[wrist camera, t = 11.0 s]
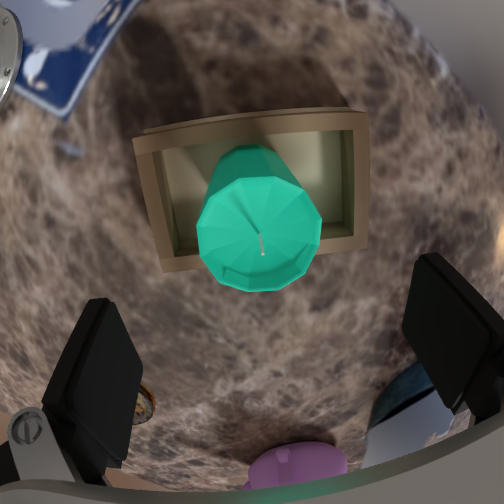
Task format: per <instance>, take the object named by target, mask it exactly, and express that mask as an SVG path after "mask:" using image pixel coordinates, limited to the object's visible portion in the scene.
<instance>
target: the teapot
mask: <svg viewBox="0 0 504 504" xmlns="http://www.w3.org/2000/svg"><path fill="white" fill-rule="evenodd" d="M345 473H347V460H346V456H345V455H344V453H343V452H342V451H340V450H339V449H337V448H336V447H334V446H332V445H330V444H327V443H324V442H314V441H311V442H298V443H292V444H287V445H283V446H279V447H276V448H273V449H271V450H268V451H266V452H265V453H263V454H262V455H260V456H259V457H258V458H257V459H256V460H255V462H254V463H253V464H252V465H251V467H250V468H249V471H248V476H249V481H248V482H247V483H246V484H245V485H244V486H243V487H242V489H241V490H251V489H261V488H269V487H277V486H284V485H291V484H297V483H303V482H308V481H314V480H319V479H323V478H328V477H333V476H337V475H341V474H345Z"/></svg>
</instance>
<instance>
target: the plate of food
mask: <svg viewBox="0 0 504 504" xmlns="http://www.w3.org/2000/svg"><path fill="white" fill-rule="evenodd" d="M150 393H151V392H150V390H149V389H148V388H147V387H146V386H145V385H144V384H142V383H140V388H139V393H138V398H137V403H136V408H135V413H134V419H133V424H132V425H138V424H142V423H144V422H146V421H148V420H149V419H151V418H152V415H153V412H154V409H155V404H156V403H155V402H154V396H153V394H152V393H151V394H152V395H151V394H150Z"/></svg>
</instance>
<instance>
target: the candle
mask: <svg viewBox="0 0 504 504" xmlns="http://www.w3.org/2000/svg"><path fill="white" fill-rule="evenodd" d="M321 224H322V218H321V216H320V214H319V213H318V211H317V209H316V208H315V206H314V204H313V203H312V201H311V199H310V198H309V196H308V195H307V193H306V191H305V190H304V188H303V187H302V186H301V184H300V183H299V182H298V180H297V179H296V178H295V176H294V175H293V174H292V172H291V171H290V170H289V168H288V167H287V166H286V164H285V163H284V162H283V160H282V159H281V158H280V157H279V155H278V154H277V153H276V152H274V151H272V150H270V149H268V148H266V147H264V146H262V145H260V144H250V145H237V146H236V147H234V148H233V149H231V150H230V151H228V152H227V153H225V154H224V155H222V156H221V157H220V159H219V161H218V163H217V165H216V167H215V169H214V171H213V173H212V175H211V179H210V182H209V185H208V188H207V191H206V195H205V198H204V201H203V204H202V208H201V211H200V214H199V218H198V221H197V224H196V228H197V237H198V245H199V253H200V258H201V259H202V260H203V262H204V263H205V264H206V266H207V267H208V268H209V270H210V271H211V273H212V274H213V275H214V277H215V278H216V279H217V281H218V282H219V283H222V284H225V285H228V286H231V287H234V288H237V289H240V290H243V291H246V292H255V291H273V290H279V289H281V288H283V287H284V286H286V285H288V284H289V283H291V282H293V281H294V280H296V279H297V278H299V277H301V276H302V275H304V274H305V272H306V270H307V268H308V267H309V265H310V263H311V261H312V259H313V257H314V255H315V253H316V251H317V249H318V247H319V243H320V234H321Z"/></svg>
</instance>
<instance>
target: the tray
mask: <svg viewBox="0 0 504 504" xmlns="http://www.w3.org/2000/svg"><path fill="white" fill-rule="evenodd" d="M132 141H133V146H134V152H135V157H136V162H137V167H138V172H139V177H140V181H141V186H142V191H143V195H144V199H145V204H146V208H147V212H148V217H149V221H150V225H151V229H152V233H153V237H154V241H155V245H156V248H157V252H158V256H159V260H160V263H161V267H162V270H163V273H167V272H175V271H184V270H193V269H201V268H208V267H207V266H206V264H205V263H204V262H203V260H202V259H201V258H200V253H199V245H198V237H197V228H196V224H197V221H198V218H199V214H200V211H201V208H202V204H203V201H204V198H205V195H206V191H207V188H208V185H209V182H210V179H211V175H212V173H213V171H214V169H215V167H216V165H217V163H218V161H219V159H220V157H221V156H222V155H224V154H225V153H227V152H228V151H230V150H231V149H233V148H234V147H236V146H237V145H250V144H260V145H262V146H264V147H266V148H268V149H270V150H272V151H274V152H276V153H277V154H278V155H279V157H280V158H281V159H282V160H283V162H284V163H285V164H286V166H287V167H288V168H289V170H290V171H291V172H292V174H293V175H294V176H295V178H296V179H297V180H298V182H299V183H300V184H301V186H302V187H303V188H304V190H305V191H306V193H307V195H308V196H309V198H310V199H311V201H312V203H313V204H314V206H315V208H316V209H317V211H318V213H319V214H320V216H321V218H322V224H321V234H320V243H319V247H318V249H317V251H316V253H315V255H317V254H325V253H333V252H341V251H349V250H357V249H365V248H367V244H368V225H369V193H370V152H369V121H368V113H366V112H359V111H353V107H312V108H294V109H280V110H268V111H257V112H248V113H239V114H231V115H223V116H216V117H209V118H203V119H197V120H191V121H185V122H179V123H174V124H169V125H163V126H159V127H154V128H149V129H145V130H144V134H142V135H140V136H137V137H135V138H133V139H132Z"/></svg>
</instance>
